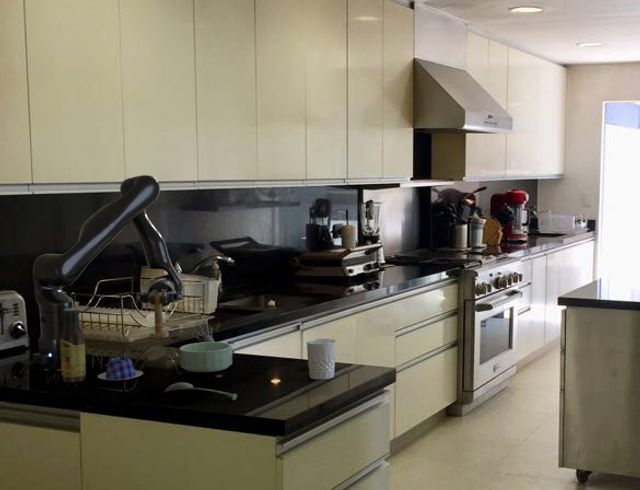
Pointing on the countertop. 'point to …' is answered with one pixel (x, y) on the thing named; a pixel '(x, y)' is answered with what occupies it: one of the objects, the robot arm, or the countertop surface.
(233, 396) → the soupspoon
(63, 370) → the sauce bottle
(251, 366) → the countertop surface
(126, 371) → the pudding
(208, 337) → the kitchen whisk
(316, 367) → the white cup
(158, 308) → the stirrer
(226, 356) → the bowl
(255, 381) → the countertop surface
